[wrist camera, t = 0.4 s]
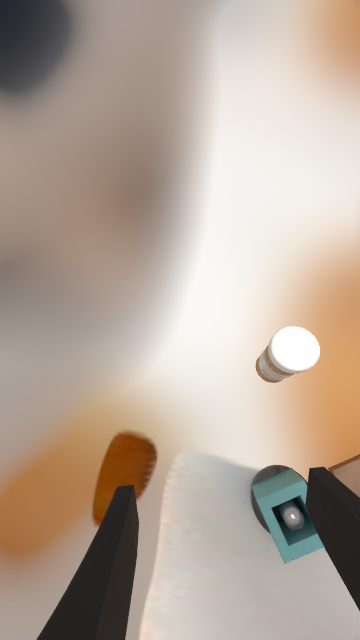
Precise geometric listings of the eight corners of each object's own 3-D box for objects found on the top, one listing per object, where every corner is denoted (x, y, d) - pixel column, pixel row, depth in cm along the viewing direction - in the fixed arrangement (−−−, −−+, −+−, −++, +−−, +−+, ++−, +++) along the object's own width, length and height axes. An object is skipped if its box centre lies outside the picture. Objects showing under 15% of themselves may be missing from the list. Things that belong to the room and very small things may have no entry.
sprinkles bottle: (293, 370, 35) (332, 351, 22) (269, 389, 35) (295, 381, 22) (271, 346, 37) (295, 316, 24) (248, 364, 36) (261, 343, 24)
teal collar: (317, 518, 28) (336, 541, 24) (274, 537, 28) (284, 563, 24) (291, 468, 30) (303, 479, 26) (251, 485, 30) (256, 500, 26)
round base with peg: (327, 522, 29) (350, 547, 23) (270, 547, 29) (280, 578, 24) (292, 455, 31) (306, 465, 26) (240, 478, 32) (243, 492, 26)
